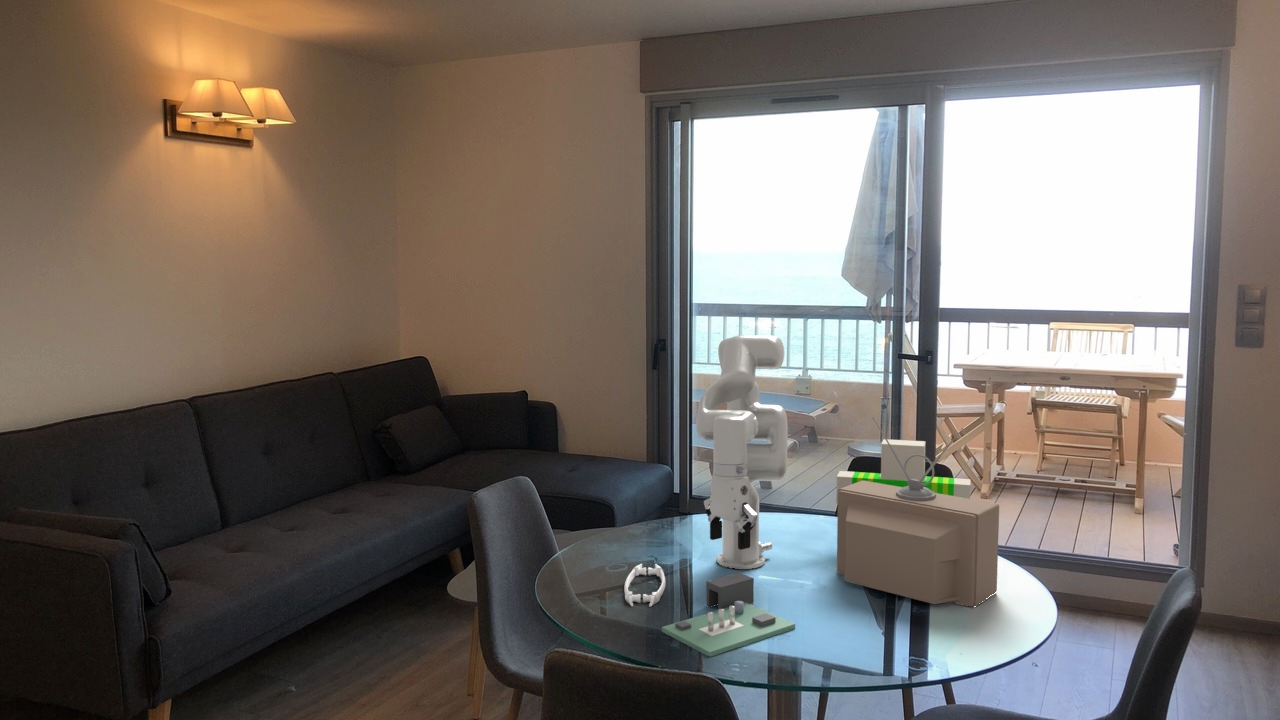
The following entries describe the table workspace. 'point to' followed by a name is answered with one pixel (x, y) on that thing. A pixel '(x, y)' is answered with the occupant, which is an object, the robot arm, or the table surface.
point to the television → (917, 540)
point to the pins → (721, 618)
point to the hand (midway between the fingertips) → (729, 543)
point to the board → (728, 629)
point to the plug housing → (729, 590)
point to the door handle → (646, 598)
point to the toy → (914, 468)
